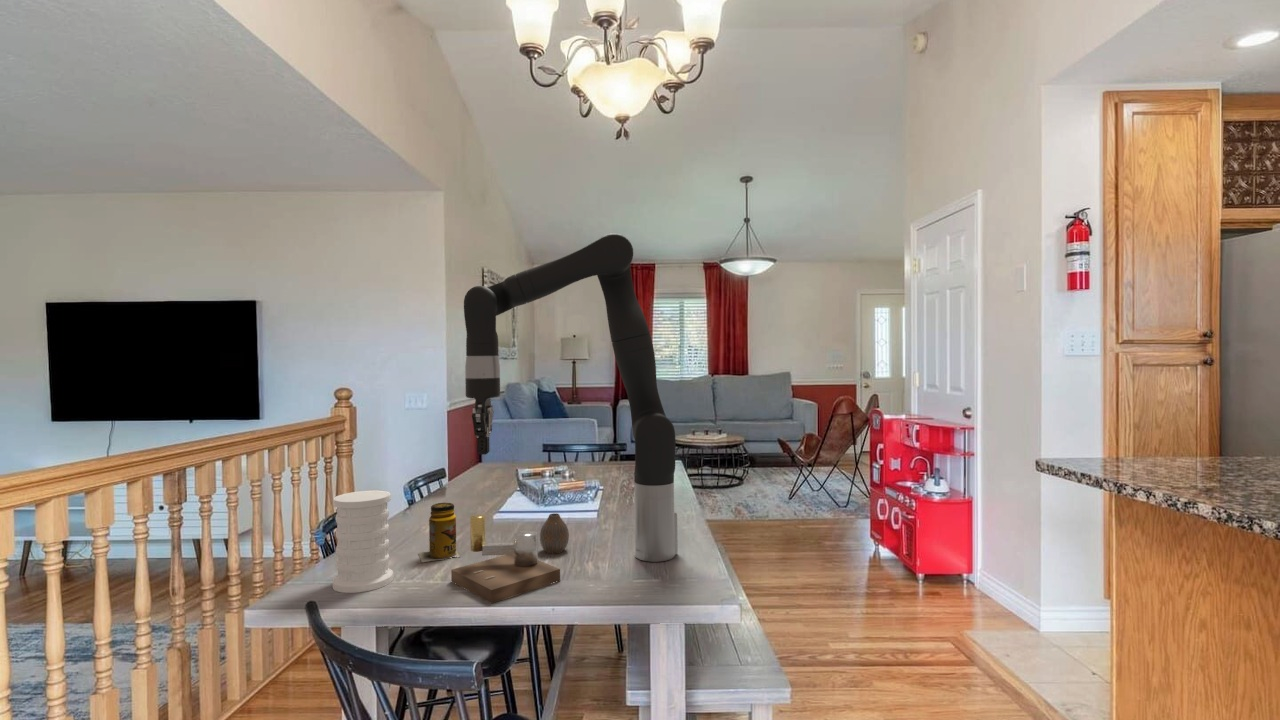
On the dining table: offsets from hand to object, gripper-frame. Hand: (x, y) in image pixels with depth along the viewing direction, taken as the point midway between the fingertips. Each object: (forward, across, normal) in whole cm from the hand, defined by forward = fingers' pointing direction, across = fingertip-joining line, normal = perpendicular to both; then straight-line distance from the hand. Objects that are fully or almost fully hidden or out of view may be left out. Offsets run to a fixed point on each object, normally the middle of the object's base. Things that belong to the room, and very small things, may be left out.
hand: (483, 453), depth 136 cm
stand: (+25, -11, -6) cm, 28 cm away
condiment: (+25, +8, +12) cm, 29 cm away
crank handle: (+22, -7, -6) cm, 24 cm away
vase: (+25, +8, -15) cm, 30 cm away
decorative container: (+25, -8, +23) cm, 35 cm away
